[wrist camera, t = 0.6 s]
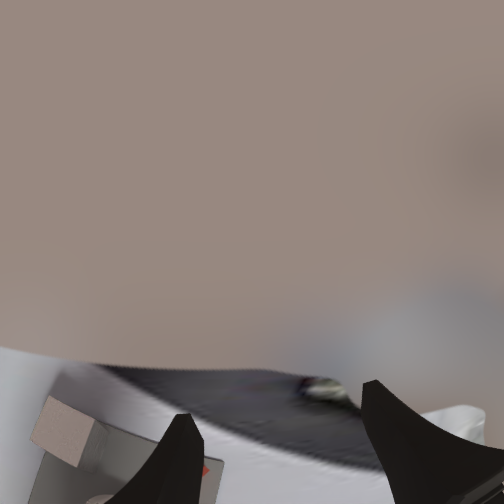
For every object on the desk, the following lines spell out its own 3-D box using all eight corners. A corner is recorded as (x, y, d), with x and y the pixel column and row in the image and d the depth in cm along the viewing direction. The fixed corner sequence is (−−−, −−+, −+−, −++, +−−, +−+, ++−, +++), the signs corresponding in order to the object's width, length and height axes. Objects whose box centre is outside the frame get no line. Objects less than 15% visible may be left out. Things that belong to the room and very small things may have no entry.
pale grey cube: (95, 473, 17) (76, 467, 14) (52, 451, 17) (29, 439, 14) (109, 433, 21) (95, 419, 18) (68, 413, 21) (48, 395, 18)
